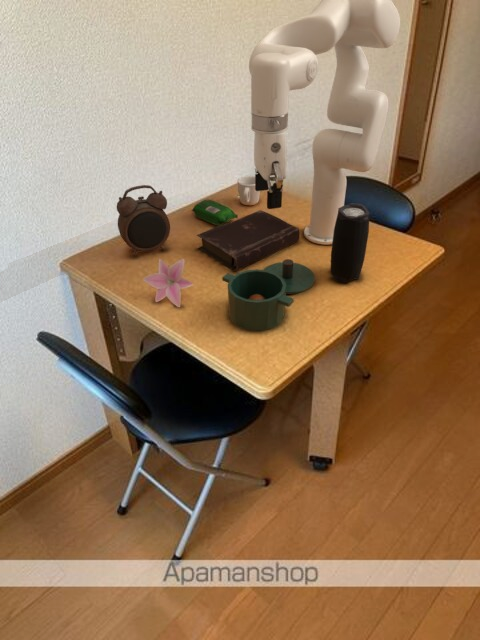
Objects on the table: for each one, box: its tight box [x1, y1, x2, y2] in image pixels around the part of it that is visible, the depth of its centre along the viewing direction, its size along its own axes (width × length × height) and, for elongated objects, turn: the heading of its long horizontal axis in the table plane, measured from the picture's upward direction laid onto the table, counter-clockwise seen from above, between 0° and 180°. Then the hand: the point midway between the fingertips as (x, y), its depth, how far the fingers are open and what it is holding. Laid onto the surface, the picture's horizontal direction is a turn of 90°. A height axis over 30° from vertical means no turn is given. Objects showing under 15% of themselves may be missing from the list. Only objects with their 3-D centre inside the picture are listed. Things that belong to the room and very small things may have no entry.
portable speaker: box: [329, 202, 371, 284], centre depth 129 cm, size 9×9×20 cm
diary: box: [196, 209, 301, 272], centre depth 147 cm, size 19×25×5 cm
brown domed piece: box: [249, 294, 266, 300], centre depth 121 cm, size 6×6×5 cm
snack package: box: [191, 198, 239, 227], centre depth 160 cm, size 7×16×5 cm, turn 46°
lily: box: [142, 258, 194, 308], centre depth 127 cm, size 12×12×10 cm
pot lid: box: [262, 258, 316, 295], centre depth 132 cm, size 15×15×6 cm
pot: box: [221, 268, 295, 332], centre depth 120 cm, size 14×19×8 cm
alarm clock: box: [116, 184, 171, 258], centre depth 141 cm, size 15×7×20 cm, turn 114°
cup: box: [237, 175, 261, 206], centre depth 168 cm, size 11×8×8 cm
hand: (267, 198), depth 113 cm, fingers open, 9 cm apart
